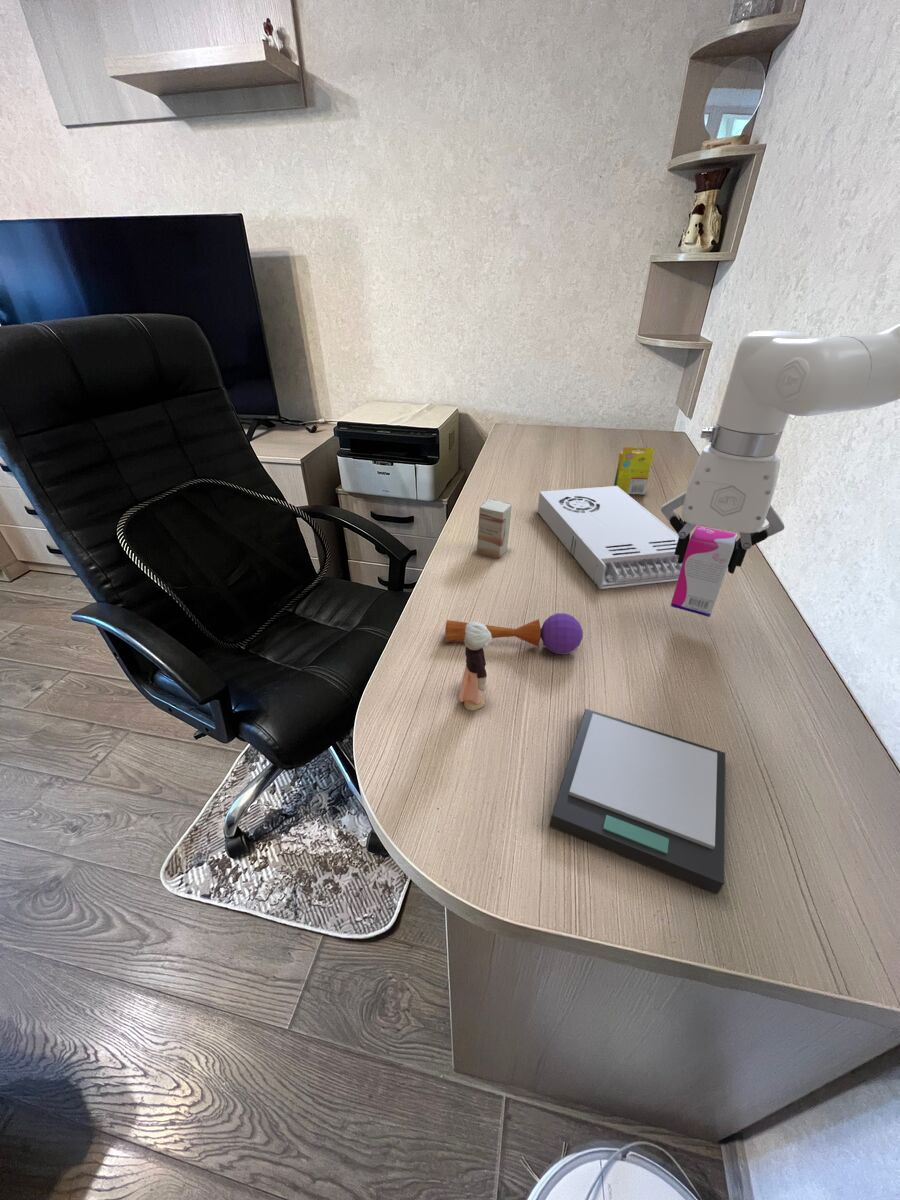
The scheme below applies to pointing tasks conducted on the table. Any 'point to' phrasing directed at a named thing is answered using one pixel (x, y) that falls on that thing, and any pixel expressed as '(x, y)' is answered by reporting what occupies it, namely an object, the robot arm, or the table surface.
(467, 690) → the grandmother figurine
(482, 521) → the medicine carton
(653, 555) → the power supply unit
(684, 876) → the scale
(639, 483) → the crayon box
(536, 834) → the table surface
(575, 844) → the table surface
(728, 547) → the supplement box
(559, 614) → the kendama
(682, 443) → the table surface
